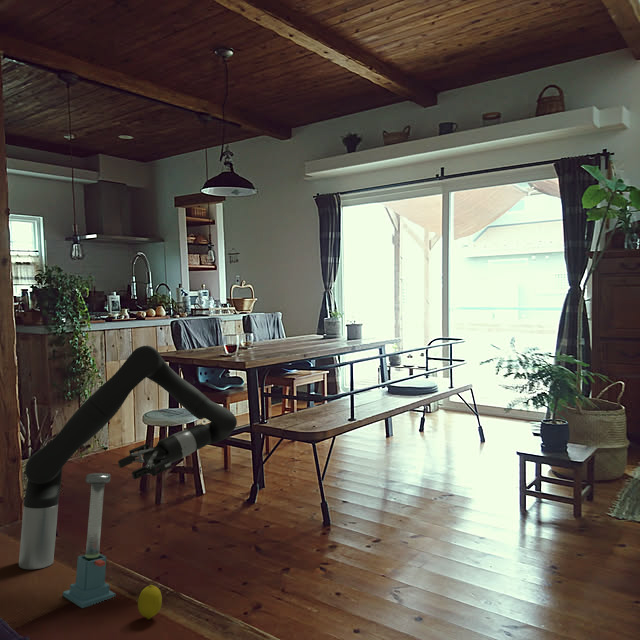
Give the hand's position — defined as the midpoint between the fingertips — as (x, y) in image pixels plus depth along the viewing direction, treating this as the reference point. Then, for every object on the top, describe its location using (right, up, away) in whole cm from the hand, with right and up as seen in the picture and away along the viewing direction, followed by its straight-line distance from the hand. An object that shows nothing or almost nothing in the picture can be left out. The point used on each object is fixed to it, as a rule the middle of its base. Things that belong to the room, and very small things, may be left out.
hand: (125, 470), depth 157 cm
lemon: (+13, -30, -21) cm, 39 cm away
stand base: (-6, -30, -11) cm, 32 cm away
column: (-5, -23, -10) cm, 26 cm away
